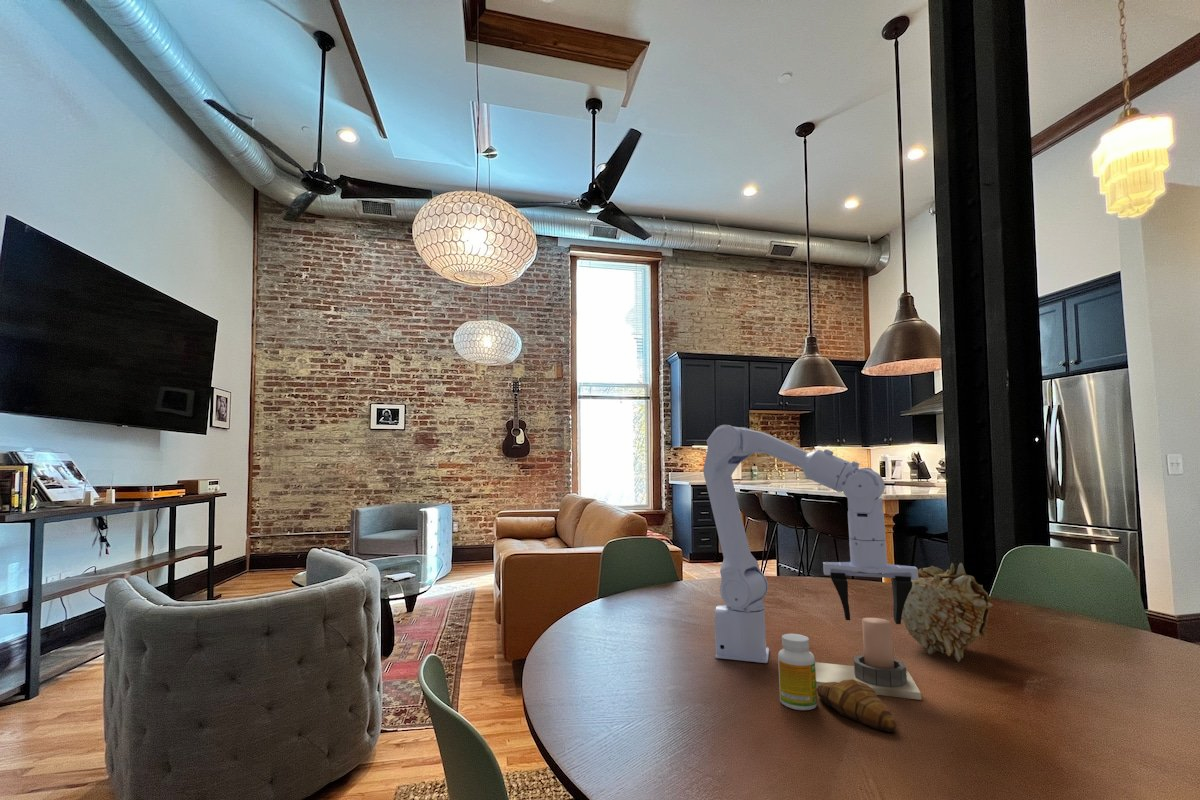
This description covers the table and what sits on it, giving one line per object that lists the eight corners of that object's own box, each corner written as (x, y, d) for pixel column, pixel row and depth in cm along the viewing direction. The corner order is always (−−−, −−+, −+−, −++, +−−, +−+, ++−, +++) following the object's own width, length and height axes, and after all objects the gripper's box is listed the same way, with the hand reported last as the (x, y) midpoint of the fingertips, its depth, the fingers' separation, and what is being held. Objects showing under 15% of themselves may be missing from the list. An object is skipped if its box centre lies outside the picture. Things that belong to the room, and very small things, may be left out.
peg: (867, 681, 90) (864, 623, 91) (863, 671, 94) (860, 616, 95) (897, 684, 89) (893, 625, 90) (891, 674, 93) (888, 618, 94)
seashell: (982, 563, 99) (1006, 566, 108) (880, 556, 112) (909, 560, 122) (993, 671, 94) (1017, 665, 104) (885, 651, 108) (915, 647, 117)
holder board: (784, 684, 91) (783, 662, 92) (785, 664, 100) (784, 644, 101) (921, 699, 85) (919, 675, 85) (908, 677, 94) (907, 656, 94)
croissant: (913, 731, 75) (910, 693, 76) (875, 740, 73) (873, 700, 73) (837, 694, 88) (835, 661, 88) (803, 700, 85) (802, 666, 86)
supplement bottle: (820, 712, 81) (816, 643, 82) (782, 709, 82) (779, 641, 83) (814, 697, 86) (810, 633, 87) (778, 695, 87) (775, 631, 88)
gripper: (823, 540, 94) (827, 623, 92) (919, 543, 89) (926, 631, 87) (821, 535, 100) (825, 612, 99) (910, 538, 96) (916, 619, 94)
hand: (872, 620), depth 93 cm, fingers open, 7 cm apart
